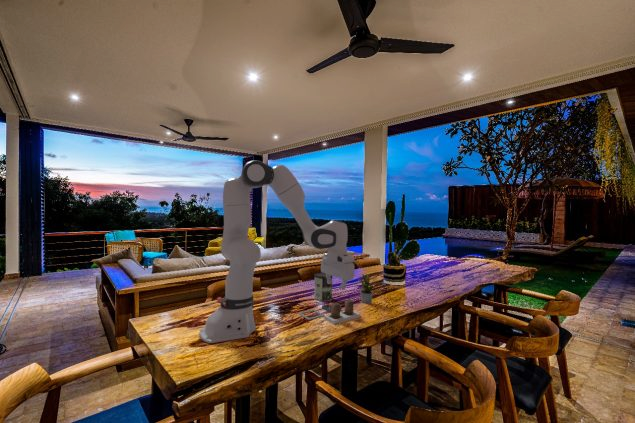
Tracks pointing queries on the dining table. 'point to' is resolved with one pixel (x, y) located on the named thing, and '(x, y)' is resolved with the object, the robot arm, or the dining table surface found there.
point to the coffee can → (322, 288)
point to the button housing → (327, 308)
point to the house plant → (366, 290)
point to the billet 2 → (349, 307)
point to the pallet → (342, 317)
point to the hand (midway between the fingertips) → (335, 286)
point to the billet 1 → (335, 310)
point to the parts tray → (312, 317)
